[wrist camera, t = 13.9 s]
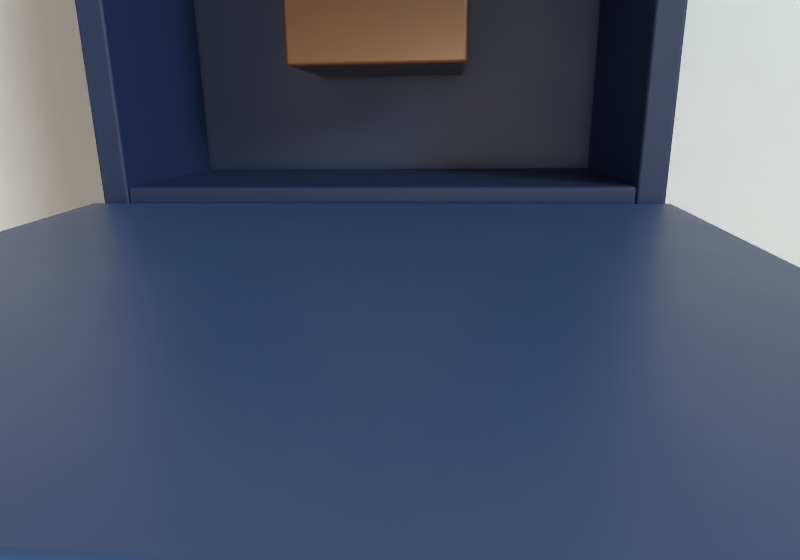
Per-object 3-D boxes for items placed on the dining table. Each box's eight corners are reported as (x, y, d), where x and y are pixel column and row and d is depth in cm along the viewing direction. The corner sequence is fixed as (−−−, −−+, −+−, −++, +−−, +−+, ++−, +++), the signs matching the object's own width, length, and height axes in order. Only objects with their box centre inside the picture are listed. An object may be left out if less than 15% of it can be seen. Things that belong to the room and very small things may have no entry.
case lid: (-924, 502, 3) (-854, 585, 3) (1602, 655, 2) (1511, 765, 2) (93, 202, 13) (98, 229, 13) (672, 203, 12) (668, 232, 12)
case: (166, -155, 16) (30, -285, 11) (633, -183, 14) (726, -341, 9) (201, 187, 18) (105, 214, 13) (602, 187, 17) (664, 215, 12)
